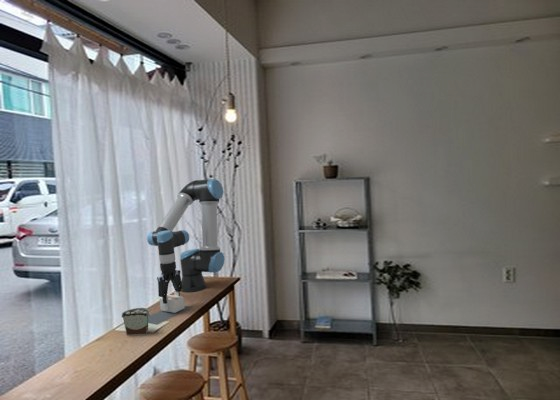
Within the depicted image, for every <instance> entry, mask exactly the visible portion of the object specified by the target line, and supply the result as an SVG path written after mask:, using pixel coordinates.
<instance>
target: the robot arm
mask: <svg viewBox="0 0 560 400" xmlns="http://www.w3.org/2000/svg"><path fill="white" fill-rule="evenodd" d="M223 195H224V188H223V185H222V183H221V182H220V180H218V179H215V178H214V179H213V178H210V179H208V178H207V179H197V180H196V179H195V180H192V181H191V182H189V183H187V184H186V185H185V186H184V187H183V188H182V189H181V190H180V191H179V193H178V194H177V199H176V200H175V202H174V203H173V205H172V206H171V208H170V209H169V210H168V212H167V213H166V215H165V217H163V220H162V221H161V223H160V224H159V225H158V226H157V228H156V230H154V231H151V232H149V233H148V234H147V238H146V240H147V241H146V242H147V243H148V245H150V246H153V247H157V250H158V257H159V266H160V267H159V268H160V271H161V275H160V276H157V277H156V280H157V287H158V288H157V289H158V291H157V293H158V298H159V297H160V298H163V303H164V308H165V309H166V310H169V309H170V308H169V299H168V296H167V295H168V290H169V284H170V281H171V285H172V286H173V289H174V291H173V295H175V296H181V293H180V292H183V293H184V292H185V293H193V292H194V293H195V292H197V291H202V290H205V289H206V287H207V282H206V281H205V278H204V276H203V273H210V274H211V273H219V272H220V271H222V269H223V267H224V264H225V255H224V253H223V252H221V248H220V247H219V246H218V206H217V205H218V204H220V199H222V197H223ZM198 200H199V201H198ZM195 201H198V202H199V204H200V205H201V217H202V218H201V219H202V220H201V224H202V225H201V227H202V228H201V229H202V246H201V248H193V249H188V250H185V251H183V252H181V253H180V258H179V260H180V267H181V270H180V269H178V270H177V264H176V253H175V248H178V247H181V246H185V245H186V244H188V243H189V241H190V234H189V231H187V230H185V229H184V230H183V229H181V230H177V231H174V230H175V228H176V226H177V225H178V223H179V221H180V219H181V218H182V217H183V215H184V213H185V212H186V210H187V209H188V208H189V206H191V205H192V204H193V203H194V202H195Z"/></svg>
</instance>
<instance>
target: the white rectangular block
mask: <svg viewBox="0 0 560 400" xmlns="http://www.w3.org/2000/svg"><path fill="white" fill-rule="evenodd" d="M167 296H168V299H169V308H170V309H169V310H166V309H165V308H164V303H163V298H162V297H160V298H159V305H160V306H159V307H160V311H167V312H173V313H176V312H178V311H180V310H182V309H184V308H185V306H186V305H185V298H184V296H182V295H180V296H175V295H174V294H167Z"/></svg>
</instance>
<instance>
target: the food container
mask: <svg viewBox="0 0 560 400" xmlns="http://www.w3.org/2000/svg"><path fill="white" fill-rule="evenodd" d="M150 315H151V314H150V311H149V309H148V308H146V307H137V308H131V309H127V310H125V311H124V312H122V313H121V318H122V319H123V323H124V330H125V334H126V336H139V335H141V336H142V335H148V334H149V323H148V317H149V316H150Z"/></svg>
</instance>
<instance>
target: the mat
mask: <svg viewBox="0 0 560 400" xmlns="http://www.w3.org/2000/svg"><path fill="white" fill-rule="evenodd" d="M184 306H185V308H184V309H182V310H180V311H178V312H176V313H173V312H167V311H161V310H159V311H157V312H155V313H152V314H150V315H149V317H148V324H150V325H151V324H152V325H159V324H162V323H163V322H165V321H168V320H170V319H171V318H174V317H177V316H178V315H180V314H182V313H184V312H186V311H188V310H190V309H192V308H193V306H192V305H191V306H189V305H184Z"/></svg>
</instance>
